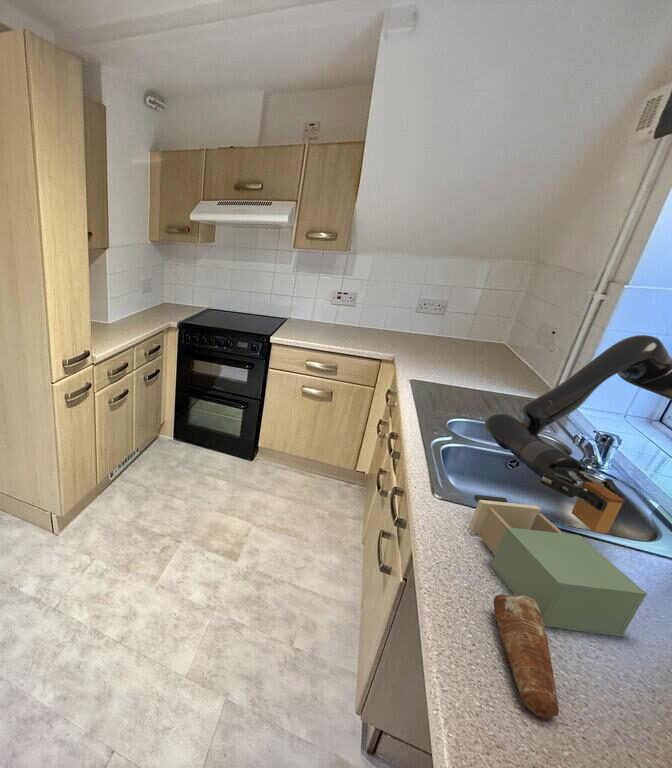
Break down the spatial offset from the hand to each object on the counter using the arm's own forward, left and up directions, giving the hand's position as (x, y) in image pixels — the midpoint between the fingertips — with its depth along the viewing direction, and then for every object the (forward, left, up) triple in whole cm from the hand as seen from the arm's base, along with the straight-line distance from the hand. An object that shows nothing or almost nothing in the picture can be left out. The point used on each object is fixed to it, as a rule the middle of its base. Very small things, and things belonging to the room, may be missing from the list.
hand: (612, 507), depth 81 cm
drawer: (+15, -1, -12) cm, 19 cm away
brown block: (0, -3, -6) cm, 7 cm away
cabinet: (+16, +13, -13) cm, 24 cm away
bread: (+28, +28, -13) cm, 41 cm away
